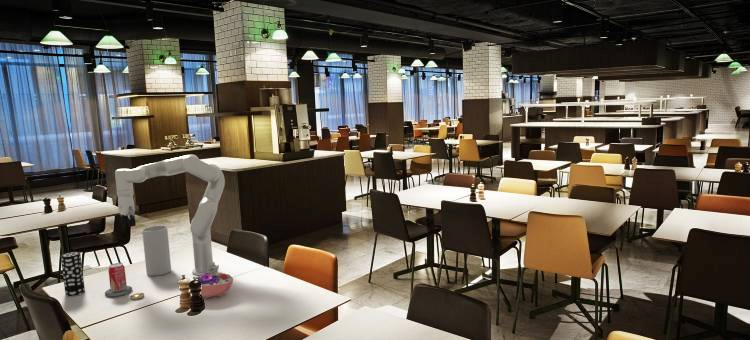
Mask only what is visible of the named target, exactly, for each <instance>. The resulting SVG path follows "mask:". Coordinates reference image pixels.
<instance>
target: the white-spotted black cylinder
mask: <svg viewBox="0 0 750 340" xmlns="http://www.w3.org/2000/svg"><path fill="white" fill-rule="evenodd" d="M60 263H61V271H62V279H63V286H64V293H65V294H64V295H65V296H66V297H76V296H79V295H82V294H84V293H86V289H85V280H84V279H85V278H84V271H83V264H82V257H81V252H80V251H70V252H66V253H63V254H61V255H60Z"/></svg>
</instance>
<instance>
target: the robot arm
mask: <svg viewBox="0 0 750 340" xmlns="http://www.w3.org/2000/svg"><path fill="white" fill-rule="evenodd" d="M181 173H182V174H183V173H189V174H190V175H193V176H195V177H197V178H199V179H201V180H202V181H205V182H207V186H206V188H205V192H204V194H203V196H202V199H200V201H199V204H198V208H197V209H196V212H195V214H194V216H193V218H192V219H191V222H190V225H189V227H190V228H189V229H190V233H191V236H192V237H191V238H192V248H193V261H194V268H193V269H192V270H191V271H192V273H191V274H193V275H195V276H201V275H202V274H203V273H208V274H214V273H215V272H216V271H218V270H219V268H220V265H219V264H216V262H215V261H214V260H213V247H212V246H213V245H212V235H211V233H212V232H211V226H212V225H213V222H214V219H215V217H216V215H217V212H218V204H219V202H220V200H221V197H222V194H223V191H224V188H225V185H226V180H225V176H224V172H223V171H222V169H221V168H220V167H219V166H218V165H216V164H213V163H210V164H208V163H207V162H206V161H203V160H201V159H199V157H198V156H197V155H196V154H192V153H191V154H186V155H182V156H179V157H178V156H177V157H173V158H170V159H164V160H161V161H158V162H157V161H156V162H153V163H148V164H144V165H139V166H137V167H136V168H132V169H130V168H118V169H116V170H115V171H114V175H115V176H114V177H115V186H116V187H115V188H116V196H117V204H118V205H117V207H118V214H120V219H121V225H125V224H128V227H129V228H131V227H136V226H137V224H136V213H135V212H136V209H135V203H134V202H135V201H134V197H133V196H134V195H135V194H134V186H133V184H134V183H136V184H137V183H138V184H139V183H143V182H145V181H146V180H148V179H151V178H152V179H153V178H157V177H163V176H166V177H169V176H170V177H171V176H174V175H178V174H181Z"/></svg>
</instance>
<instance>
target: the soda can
mask: <svg viewBox="0 0 750 340" xmlns="http://www.w3.org/2000/svg"><path fill="white" fill-rule="evenodd" d="M107 271H108V278H109V279H108V280H109V285H110V286H109V287H110V288H109V289H111V291H112V292H121V291H123V290H125V289H126V287H127V286H128V285H127V277H126V268H125V266H124V263H123V262H116V263H111V264H109V265H108V269H107Z"/></svg>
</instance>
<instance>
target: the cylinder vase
mask: <svg viewBox="0 0 750 340" xmlns="http://www.w3.org/2000/svg"><path fill="white" fill-rule="evenodd" d="M141 231H142V240H143V251H144V260H145V261H144V262H145V263H144V264H145V269H146V270H145V271H146V274H147V276H150V277H156V276H157V277H158V276H162V275H167V274H168V273H170V272H171V271H172V263H171V254H170V242H169V231H168V226H167V225H153V226H147V227H144V228H142V230H141Z"/></svg>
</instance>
